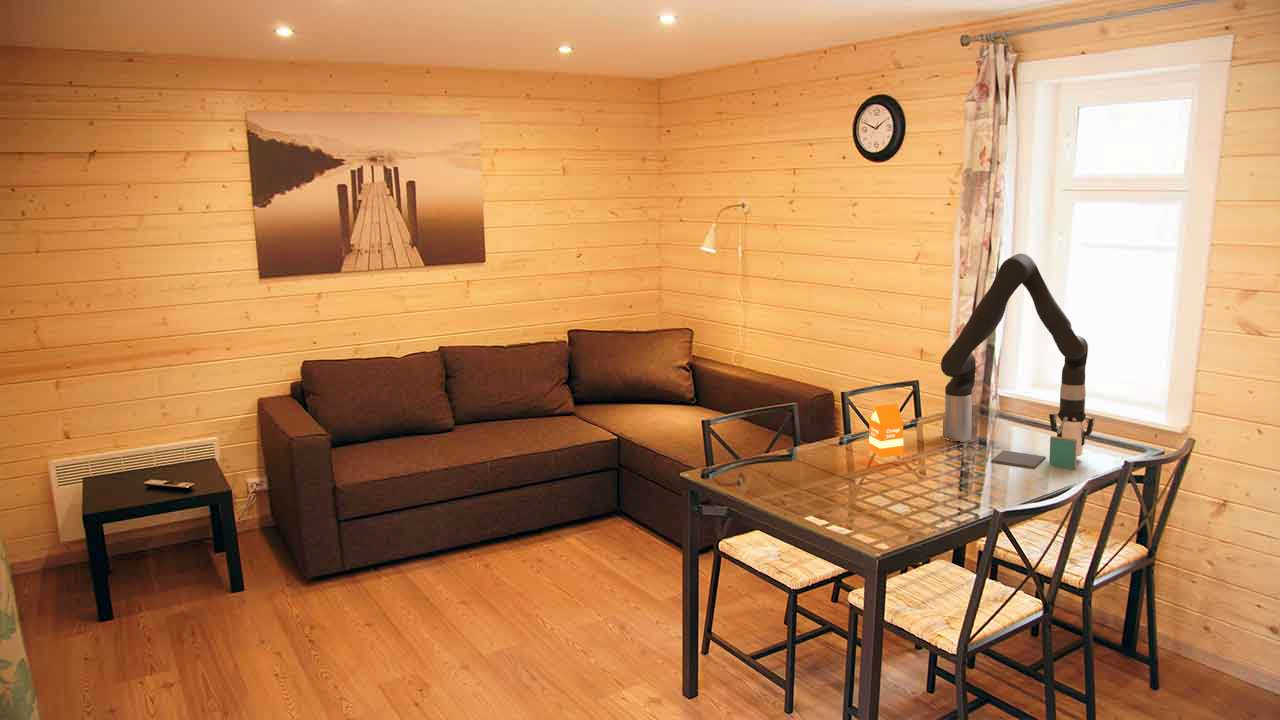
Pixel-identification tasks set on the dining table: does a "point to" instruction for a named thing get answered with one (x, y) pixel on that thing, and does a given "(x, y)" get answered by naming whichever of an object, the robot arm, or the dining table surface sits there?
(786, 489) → the dining table surface
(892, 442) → the orange juice
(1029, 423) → the dining table surface
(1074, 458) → the tile
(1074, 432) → the can
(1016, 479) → the dining table surface
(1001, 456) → the mat
